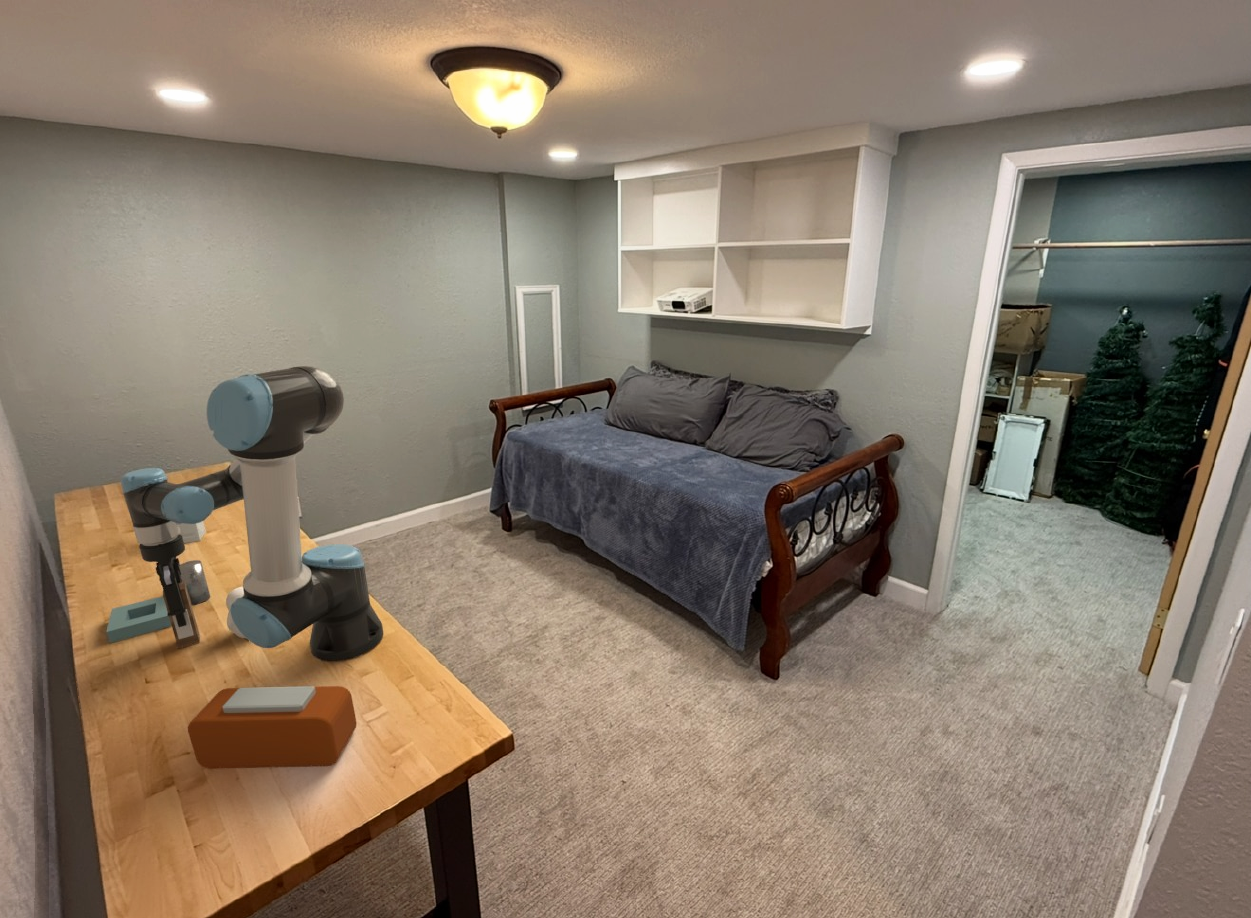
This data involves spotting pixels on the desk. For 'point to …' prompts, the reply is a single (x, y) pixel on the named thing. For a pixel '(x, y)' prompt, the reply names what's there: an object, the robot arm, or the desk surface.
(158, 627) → the socket block
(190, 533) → the supplement box
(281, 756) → the block with grey pad
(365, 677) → the desk surface
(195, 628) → the square bit
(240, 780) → the desk surface
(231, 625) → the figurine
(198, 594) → the round bit
